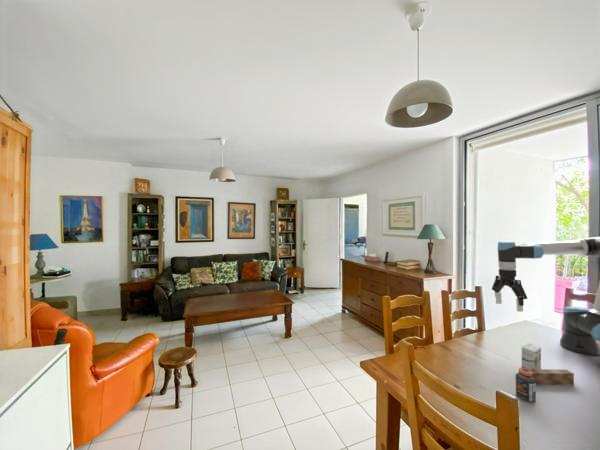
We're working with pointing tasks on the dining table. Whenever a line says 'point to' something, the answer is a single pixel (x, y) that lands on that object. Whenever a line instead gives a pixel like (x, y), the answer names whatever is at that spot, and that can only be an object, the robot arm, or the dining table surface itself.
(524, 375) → the pill bottle
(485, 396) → the dining table surface
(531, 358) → the ink box
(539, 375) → the board
